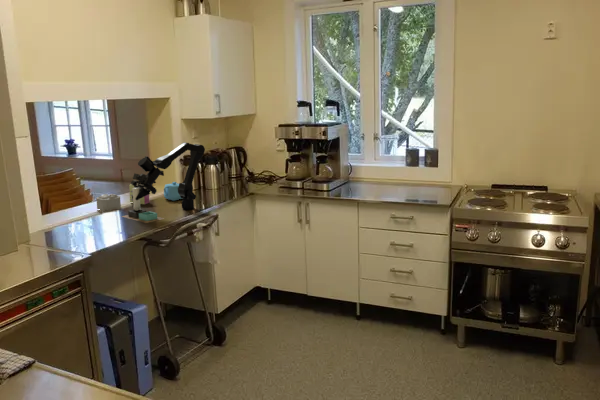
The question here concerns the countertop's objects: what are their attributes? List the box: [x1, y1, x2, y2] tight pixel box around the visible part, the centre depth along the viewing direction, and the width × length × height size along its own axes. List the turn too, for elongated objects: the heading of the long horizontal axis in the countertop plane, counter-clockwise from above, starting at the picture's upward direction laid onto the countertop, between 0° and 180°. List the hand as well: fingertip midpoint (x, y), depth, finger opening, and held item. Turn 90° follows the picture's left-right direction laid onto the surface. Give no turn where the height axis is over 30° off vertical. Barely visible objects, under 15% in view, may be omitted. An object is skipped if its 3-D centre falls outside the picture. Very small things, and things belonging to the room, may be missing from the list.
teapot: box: [163, 181, 183, 202], centre depth 330 cm, size 12×18×12 cm
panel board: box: [120, 209, 165, 224], centre depth 279 cm, size 22×12×4 cm, turn 54°
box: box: [128, 183, 150, 205], centre depth 317 cm, size 10×6×12 cm, turn 74°
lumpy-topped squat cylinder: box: [96, 193, 122, 212], centre depth 301 cm, size 10×13×9 cm
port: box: [139, 210, 158, 221], centre depth 276 cm, size 7×7×3 cm
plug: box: [132, 188, 142, 210], centre depth 280 cm, size 4×4×12 cm
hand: (134, 199), depth 279 cm, fingers closed on plug, 4 cm apart
